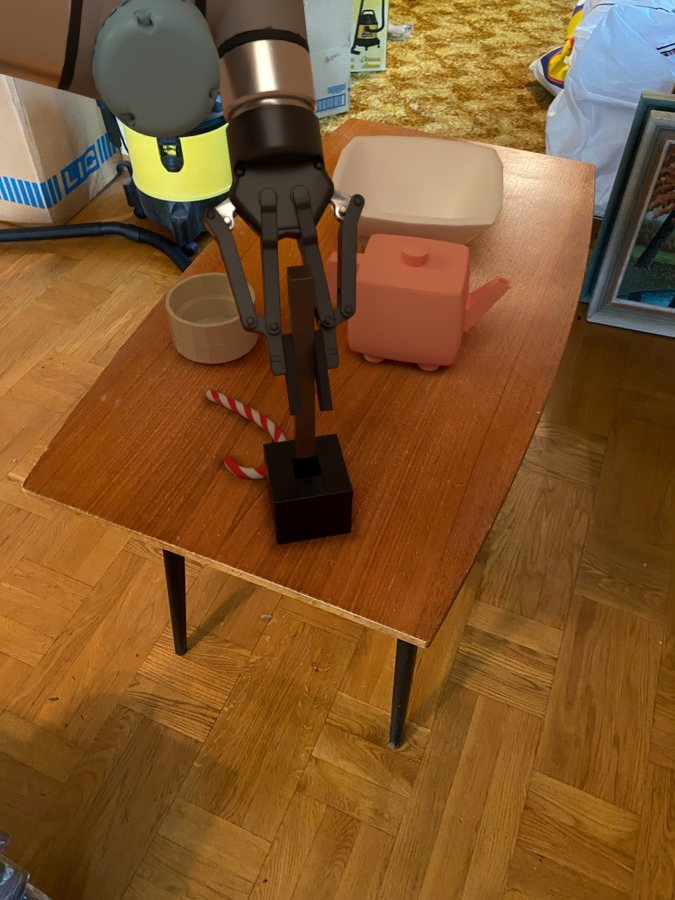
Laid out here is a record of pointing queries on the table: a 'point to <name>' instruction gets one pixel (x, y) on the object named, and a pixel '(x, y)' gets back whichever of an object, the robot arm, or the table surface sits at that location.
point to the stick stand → (308, 490)
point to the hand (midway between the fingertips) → (311, 412)
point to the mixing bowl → (207, 319)
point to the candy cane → (254, 417)
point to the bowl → (421, 186)
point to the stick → (303, 354)
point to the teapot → (414, 300)
